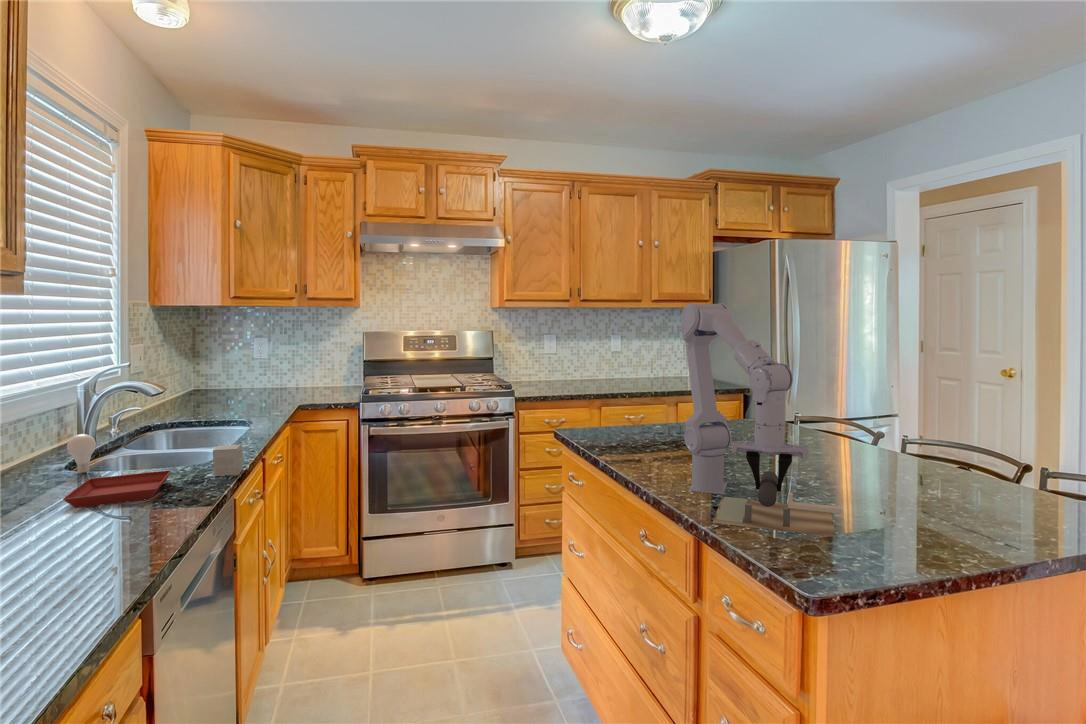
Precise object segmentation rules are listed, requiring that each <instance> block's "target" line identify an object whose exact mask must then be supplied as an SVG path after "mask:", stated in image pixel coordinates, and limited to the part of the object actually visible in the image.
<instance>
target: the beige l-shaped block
mask: <svg viewBox="0 0 1086 724" xmlns="http://www.w3.org/2000/svg"><path fill="white" fill-rule="evenodd" d="M793 496H794V494H793V492H790V491H789V492H788V493H787V504H788V508H792V509H802V510H811V511H821V512H830V513H832V514H842V511H843V510H842V505H841V506H840V505H832V504H831V505H828V504H820V503H808V502H801V501H800V502H798V501H793V499H794V497H793Z"/></svg>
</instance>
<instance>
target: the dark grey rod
mask: <svg viewBox="0 0 1086 724" xmlns="http://www.w3.org/2000/svg"><path fill="white" fill-rule="evenodd" d="M777 483H778V474H776V473H775V472H773V471H765V472H764V473H762V475H761V476H760V488H759V489H758V495H757V501H759V502H760V504H762V505H763V506H766V507H770V506H773V505H774V504H775V503H777V499H778V491H777Z"/></svg>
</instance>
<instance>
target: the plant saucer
mask: <svg viewBox="0 0 1086 724" xmlns="http://www.w3.org/2000/svg"><path fill="white" fill-rule="evenodd" d="M171 472H172V470H161V471H150V472H141V473H132V474H131V473H130V474H122V475H120V474H119V475H112V476H111V475H110V476H103V477H93V478H89V479H87V480H85V481H84V482H82V483H81V484H80V485H79V486H77V487H76V488H75V489H73V490H72V491H70V492H69V493H68V494H67V495H65V496H64V497H63V498H62V500H64V502H66V503H67V504H69V505H70V506H72V507H73V508H85V506H86V507H93V505H95V506H101V505H100V504H104V505H110V504H109V503H113V504H119V503H118V502H122V503H127V502H126V501H131V502H136V501H135V500H140V501H145V500H144V499H148V500H151V499H152V498H153V497H154V496H155V494H156V493H157V492H158V491H159V490H160V488H161V487H162V486H163V484H164V483H165V482H166V480H167V479H168V478H169V476H170V475H171ZM150 498H151V499H150Z"/></svg>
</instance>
